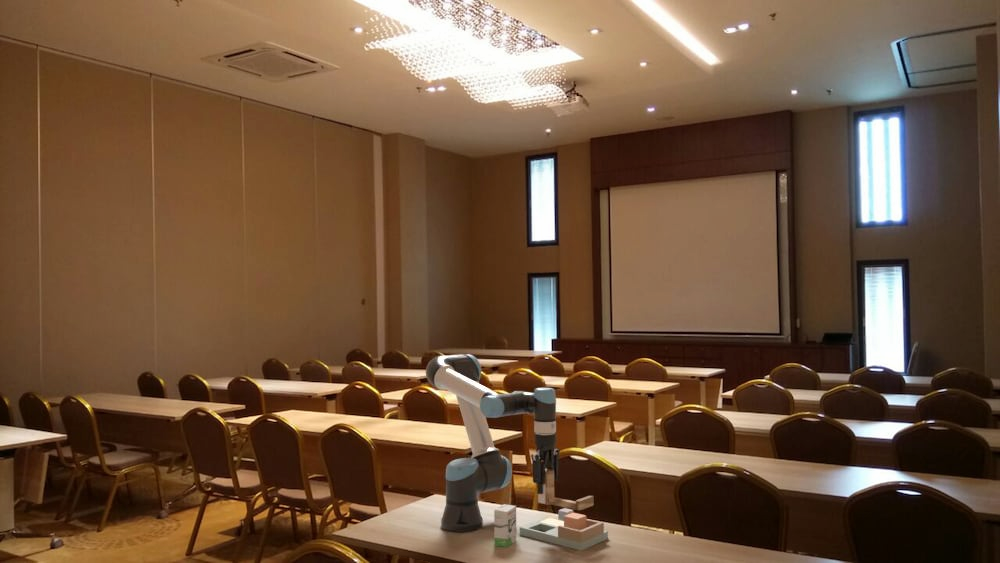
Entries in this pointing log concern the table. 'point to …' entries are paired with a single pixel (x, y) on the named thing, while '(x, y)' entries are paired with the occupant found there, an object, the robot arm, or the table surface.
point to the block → (575, 521)
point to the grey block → (563, 513)
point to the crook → (552, 500)
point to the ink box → (504, 525)
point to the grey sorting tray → (566, 533)
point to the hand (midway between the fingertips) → (546, 501)
